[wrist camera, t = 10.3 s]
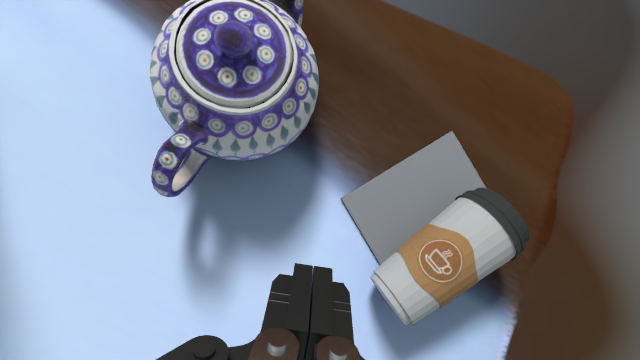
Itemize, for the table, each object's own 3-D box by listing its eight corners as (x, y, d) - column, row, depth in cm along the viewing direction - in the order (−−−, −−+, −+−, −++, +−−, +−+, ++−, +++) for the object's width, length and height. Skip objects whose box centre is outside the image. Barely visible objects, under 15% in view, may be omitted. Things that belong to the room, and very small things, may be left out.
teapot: (238, 233, 38) (223, 245, 24) (112, 156, 37) (13, 117, 22) (356, 52, 43) (405, -34, 28) (246, -23, 41) (237, -155, 27)
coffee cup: (361, 261, 34) (481, 171, 36) (364, 271, 42) (462, 197, 43) (419, 340, 31) (548, 238, 32) (410, 335, 39) (515, 253, 40)
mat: (403, 304, 40) (404, 305, 40) (340, 198, 40) (341, 198, 40) (509, 230, 43) (511, 230, 43) (450, 131, 43) (452, 130, 43)
